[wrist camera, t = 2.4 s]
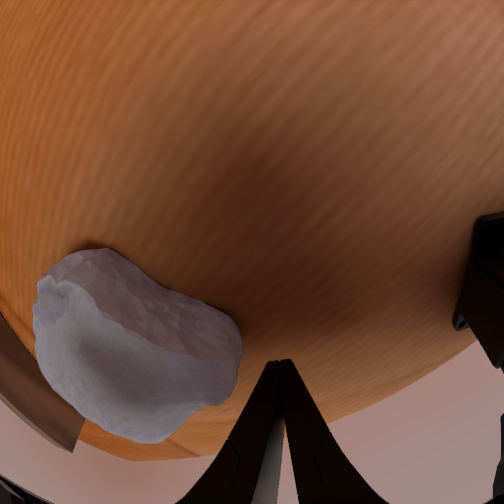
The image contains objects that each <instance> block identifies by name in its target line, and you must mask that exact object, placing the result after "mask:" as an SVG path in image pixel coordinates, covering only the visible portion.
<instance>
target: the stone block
mask: <svg viewBox="0 0 504 504" xmlns="http://www.w3.org/2000/svg"><path fill="white" fill-rule="evenodd" d="M37 291H38V298H37V299H36V302H35V303H34V304H33V309H32V313H33V314H34V317H33V329H34V334H35V336H36V342H35V343H34V344H35V349H36V356H37V360H38V364H39V367H40V370H41V372H42V374H43V375H44V377H45V378H46V380H47V381H48V383H49V384H50V386H51V387H52V389H53V390H54V391H55V392H57V393H58V394H59V395H60V396H61V397H62V398H63V399H65V400H66V401H67V402H68V403H69V404H71V405H72V406H73V407H74V408H75V409H76V410H77V411H78V412H79V413H80V414H81V415H82V416H83V417H85V418H87V419H89V420H90V421H92V422H94V423H96V424H98V425H99V426H100V427H101V428H103V429H104V430H106V431H107V432H110V433H112V434H114V435H118V436H123V437H125V438H128V439H130V440H133V441H135V442H138V443H148V444H154V443H159V442H161V441H163V440H165V439H166V438H167V437H168V436H171V435H172V434H173V433H174V432H175V431H176V430H177V429H178V428H179V427H180V426H181V425H182V424H183V423H184V422H185V420H186V419H187V418H188V417H189V416H191V415H192V414H193V413H194V412H195V411H199V410H201V409H203V408H204V407H205V406H206V405H210V406H218V405H220V404H222V403H223V402H224V401H225V400H226V399H227V398H228V397H229V396H230V395H231V393H232V391H233V389H234V387H235V384H236V382H237V373H238V367H239V361H240V359H241V357H242V354H243V342H242V338H241V334H240V329H239V328H238V327H237V325H236V324H235V323H234V321H233V320H232V318H231V317H230V316H228V315H226V314H225V313H223V312H221V311H219V310H217V309H215V308H214V307H211V306H209V305H206V304H205V303H204V302H203V301H200V300H196V299H193V298H190V297H188V296H186V295H184V294H181V293H179V292H176V291H172V290H168V289H166V288H164V287H162V286H161V285H159V284H157V283H156V282H155V281H153V280H152V279H151V278H150V277H148V276H147V275H146V274H145V273H144V272H143V271H142V270H141V269H140V268H139V267H138V266H136V265H135V264H133V263H132V262H130V261H129V260H127V259H125V258H124V257H122V256H121V255H119V254H118V253H117V252H115V251H113V250H111V249H109V248H102V249H89V250H82V251H76V252H74V253H71V254H68V255H66V256H65V257H64V258H63V259H62V260H60V261H59V262H57V263H55V264H54V265H53V266H52V267H51V268H50V269H49V270H48V271H47V272H46V273H45V274H43V275H42V276H41V278H40V279H39V281H38V283H37Z"/></svg>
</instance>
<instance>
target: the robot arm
mask: <svg viewBox="0 0 504 504" xmlns="http://www.w3.org/2000/svg"><path fill="white" fill-rule="evenodd" d="M484 229H485V230H484ZM452 324H453V326H454V328H455V330H456V331H460V330H463V329H466V328H468V327H470V328H471V330H472V331H473V333H474V334H475V336H476V338H477V339H478V341H479V342H480V344H481V346H482V347H483V349H484V351H485V352H486V354H487V356H488V358H489V360H490V361H491V363H492V365H493V366H494V367H495V368H496V369H498V368H501V369H502V371H503V373H504V213H501V214H495V215H489V216H484V217H482V218H480V219H479V220H478V222H477V224H476V227H475V233H474V239H473V245H472V250H471V255H470V260H469V265H468V269H467V273H466V277H465V281H464V285H463V289H462V293H461V296H460V300H459V303H458V306H457V310H456V313H455V316H454V319H453V322H452ZM285 426H286V432H287V438H288V443H289V449H290V454H291V460H292V465H293V472H294V477H295V482H296V489H297V494H298V500H299V504H389V503H388V502H387V501H385V500H384V499H383V498H381V497H380V496H379V495H378V494H377V493H376V492H375V491H374V490H373V489H372V488H371V487H370V486H369V485H368V483H367V482H366V481H365V480H364V479H363V477H362V476H361V475H360V474H359V473H358V471H357V470H356V469H355V468H354V466H353V465H352V464H351V463H350V461H349V460H348V459H347V457H346V456H345V455H344V453H343V452H342V450H341V449H340V447H339V445H338V444H337V442H336V440H335V439H334V437H333V435H332V433H331V432H330V430H329V428H328V426H327V424H326V422H325V421H324V419H323V417H322V415H321V413H320V411H319V410H318V408H317V406H316V404H315V402H314V400H313V399H312V397H311V395H310V393H309V391H308V389H307V387H306V386H305V384H304V382H303V380H302V378H301V376H300V374H299V373H298V371H297V369H296V367H295V365H294V363H293V361H292V360H291V359H284V360H280V361H278V360H275V361H269V362H267V364H266V366H265V368H264V370H263V372H262V374H261V376H260V378H259V380H258V382H257V384H256V386H255V388H254V390H253V392H252V394H251V396H250V397H249V399H248V401H247V403H246V405H245V407H244V409H243V411H242V413H241V414H240V416H239V418H238V420H237V422H236V424H235V425H234V427H233V429H232V431H231V433H230V435H229V436H228V439H227V440H226V441H225V443H224V445H223V447H222V448H221V450H220V452H219V453H218V455H217V456H216V458H215V459H214V461H213V462H212V464H211V465H210V466H209V468H208V469H207V470H206V471H205V473H204V474H203V475H202V476H201V478H200V479H199V480H198V481H197V482H196V484H195V485H194V486H193V487H192V488H191V489H190V491H189V492H188V493H187V494H186V495H185V496H184V497H183V498H182V499H181V500H179V501H178V502H177V503H175V504H277V496H278V488H279V478H280V470H281V460H282V450H283V439H284V428H285ZM0 504H54V503H52V502H49V501H48V500H46V499H43V498H41V497H39V496H37V495H35V494H34V493H32V492H30V491H28V490H26V489H24V488H22V487H20V486H19V485H17V484H15V483H14V482H12V481H10V480H9V479H7V478H5V477H4V476H2V475H1V474H0ZM483 504H504V413H503V414H502V416H501V460H500V462H499V464H498V466H497V470H496V475H495V479H494V483H493V498H491V499H490V500H488V501H487V502H485V503H483Z"/></svg>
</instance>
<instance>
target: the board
mask: <svg viewBox="0 0 504 504" xmlns="http://www.w3.org/2000/svg"><path fill="white" fill-rule="evenodd" d="M0 400H2V402H3V403H4V404H5V405H7V406H8V407H9V408H10V409H11V410H12V411H13V412H14V413H15V414H16V415H17V416H19V417H20V418H21V419H22V420H23V421H24V422H25V423H27V424H28V425H29V426H30V427H31V428H33V429H34V430H35V431H36V432H38V433H39V434H40V435H41V436H43V437H44V438H45V439H47V440H48V441H49V442H51V443H52V444H54V445H55V446H57V447H60V448H62V449H64V450H66V451H69V452H71V453H72V452H73V449H74V447H75V444H76V442H77V439H78V436H79V434H80V431H81V429H82V426H83V424H84V421H85V419H86V418H85V417H83V416H82V415H81V414H80V413H79V412H78V411H77V410H76V409H75V408H74V407H73V406H72V405H71V404H69V403H68V402H67V401H66V400H65V399H63V398H62V397H61V396H60V395H59V394H58V393H57V392H55V391H54V390H53V389H52V387H51V386H50V384H49V383H48V381H47V380H46V378H45V377H44V375H43V374H42V372H41V370H40V367H39V364H38V363H37V362H36V361H35V359H34V358H33V357H32V356H31V354H30V353H29V352H28V351H27V349H26V348H25V347H24V345H23V344H22V343H21V341H20V340H19V339H18V337H17V336H16V335H15V333H14V332H13V330H12V329H11V328H10V326H9V325H8V323H7V322H6V320H5V319H4V317H3V316H2V314H1V313H0Z"/></svg>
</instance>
